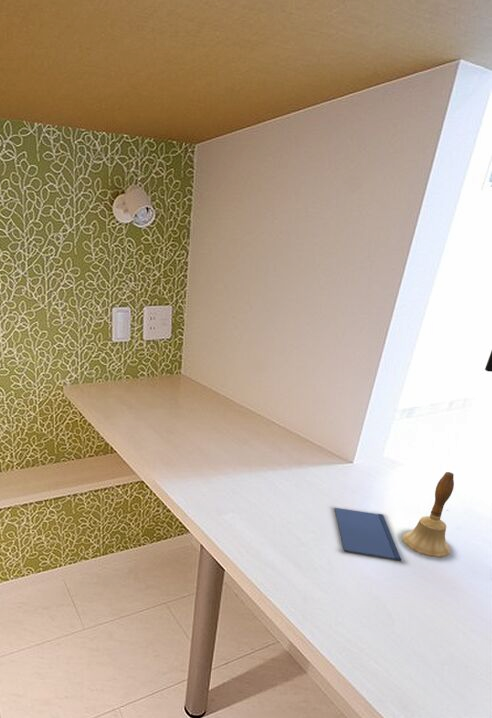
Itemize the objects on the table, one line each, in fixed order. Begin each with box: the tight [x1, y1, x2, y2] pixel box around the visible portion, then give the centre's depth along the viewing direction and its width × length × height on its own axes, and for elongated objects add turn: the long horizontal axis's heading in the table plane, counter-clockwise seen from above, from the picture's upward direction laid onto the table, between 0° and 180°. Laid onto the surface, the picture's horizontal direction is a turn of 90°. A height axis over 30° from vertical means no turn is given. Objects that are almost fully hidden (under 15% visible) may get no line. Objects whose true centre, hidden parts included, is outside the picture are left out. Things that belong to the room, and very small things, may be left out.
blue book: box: [334, 507, 402, 562], centre depth 90 cm, size 10×16×1 cm, turn 164°
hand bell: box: [401, 471, 455, 558], centre depth 83 cm, size 8×8×16 cm
